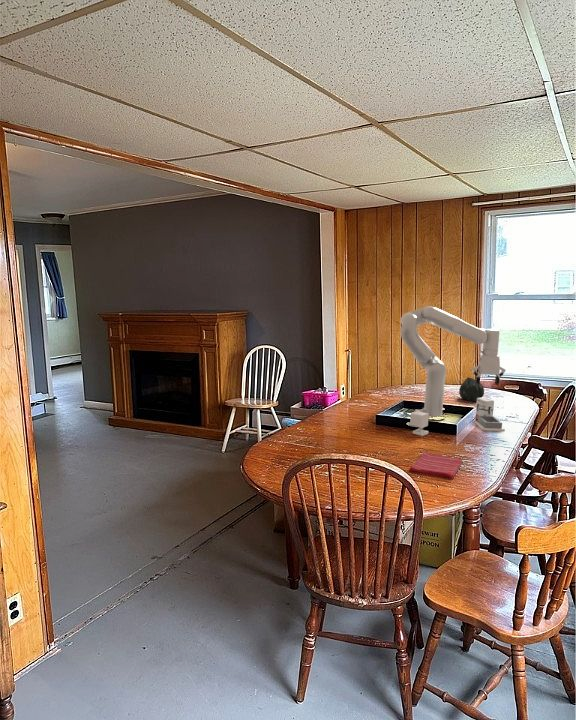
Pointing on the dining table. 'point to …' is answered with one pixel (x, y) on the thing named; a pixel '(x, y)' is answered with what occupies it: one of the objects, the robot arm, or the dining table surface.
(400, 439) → the dining table surface
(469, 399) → the squash
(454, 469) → the dish towel
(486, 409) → the ink box
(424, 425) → the security camera
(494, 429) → the dock board
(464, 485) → the dining table surface
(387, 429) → the dining table surface
